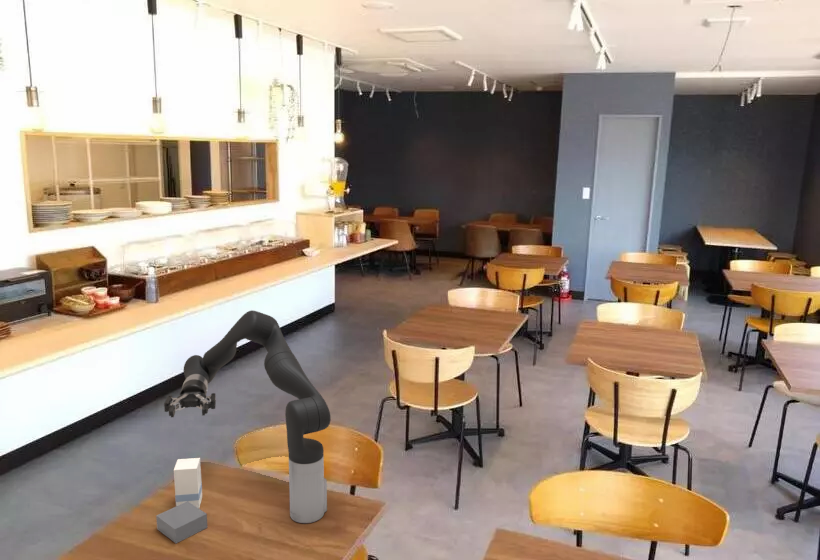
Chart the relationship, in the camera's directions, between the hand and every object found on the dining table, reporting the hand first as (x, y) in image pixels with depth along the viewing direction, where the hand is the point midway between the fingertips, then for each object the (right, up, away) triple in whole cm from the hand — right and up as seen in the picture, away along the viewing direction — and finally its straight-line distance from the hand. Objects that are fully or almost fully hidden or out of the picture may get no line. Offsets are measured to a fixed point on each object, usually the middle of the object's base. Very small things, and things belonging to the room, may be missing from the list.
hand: (187, 413), depth 181 cm
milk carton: (+2, -24, -5) cm, 25 cm away
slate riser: (+4, -27, -16) cm, 31 cm away
